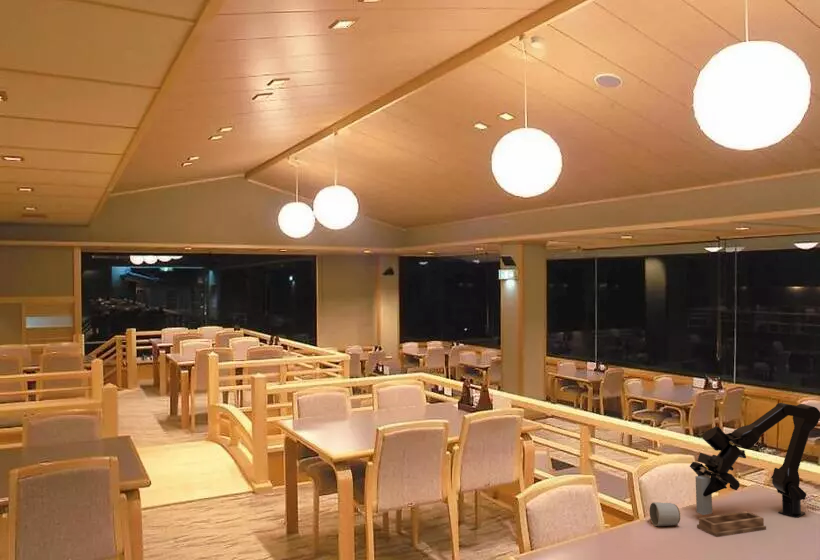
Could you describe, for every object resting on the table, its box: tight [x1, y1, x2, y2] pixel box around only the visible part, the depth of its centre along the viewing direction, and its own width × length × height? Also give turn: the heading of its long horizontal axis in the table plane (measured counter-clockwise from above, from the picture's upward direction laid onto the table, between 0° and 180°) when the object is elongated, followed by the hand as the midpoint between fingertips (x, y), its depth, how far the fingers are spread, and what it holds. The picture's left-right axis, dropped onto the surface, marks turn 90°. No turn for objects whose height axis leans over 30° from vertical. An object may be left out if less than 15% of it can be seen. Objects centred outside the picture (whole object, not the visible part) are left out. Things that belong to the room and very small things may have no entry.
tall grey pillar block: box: [695, 475, 713, 516], centre depth 228 cm, size 4×3×12 cm
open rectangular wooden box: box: [696, 510, 767, 538], centre depth 219 cm, size 20×9×4 cm, turn 106°
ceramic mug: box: [648, 501, 681, 527], centre depth 226 cm, size 11×8×8 cm
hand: (700, 494), depth 228 cm, fingers closed on tall grey pillar block, 3 cm apart
